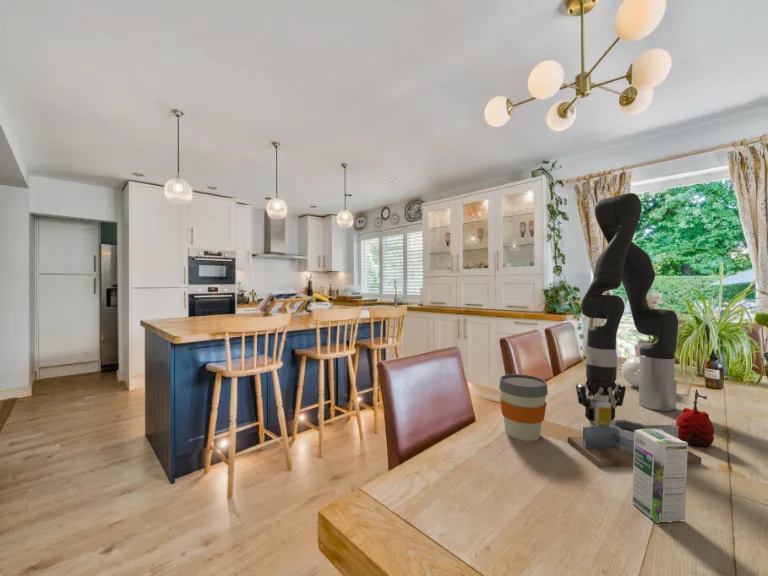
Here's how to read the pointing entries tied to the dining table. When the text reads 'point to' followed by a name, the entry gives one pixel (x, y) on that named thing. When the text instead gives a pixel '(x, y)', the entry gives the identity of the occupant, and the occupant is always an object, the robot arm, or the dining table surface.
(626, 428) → the grey winged octagonal holder
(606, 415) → the supplement bottle
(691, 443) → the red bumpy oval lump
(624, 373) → the cat head
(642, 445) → the syrup box
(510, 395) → the reusable coffee cup
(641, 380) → the robot arm
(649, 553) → the dining table surface
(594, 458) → the board
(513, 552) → the dining table surface
